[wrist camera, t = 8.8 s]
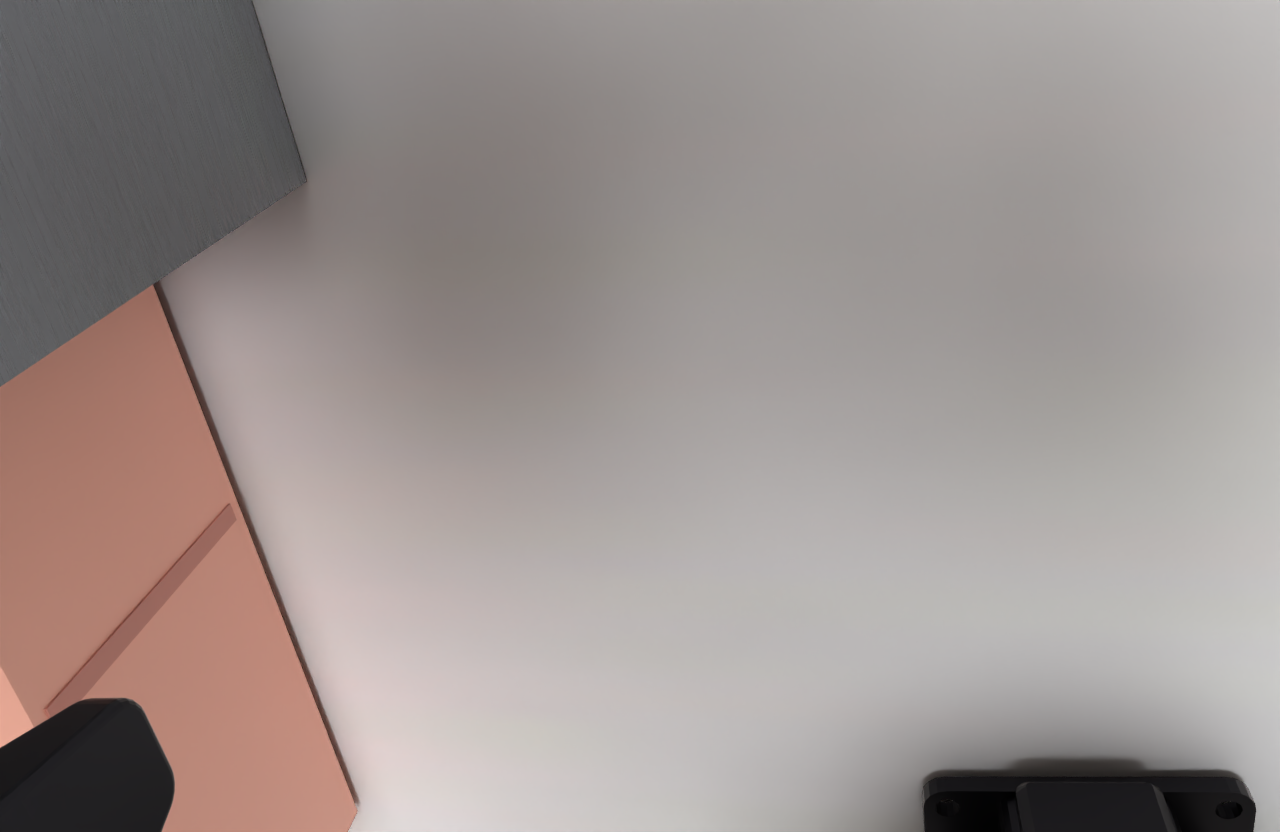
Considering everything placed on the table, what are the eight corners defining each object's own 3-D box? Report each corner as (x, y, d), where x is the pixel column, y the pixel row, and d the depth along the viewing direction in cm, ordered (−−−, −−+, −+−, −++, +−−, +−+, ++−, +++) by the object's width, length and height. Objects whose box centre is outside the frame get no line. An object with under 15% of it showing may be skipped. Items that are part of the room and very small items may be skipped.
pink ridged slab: (359, 811, 27) (229, 1079, 21) (268, 810, 27) (117, 1072, 22) (91, 121, 19) (-227, 247, 13) (-28, 138, 20) (-382, 267, 14)
